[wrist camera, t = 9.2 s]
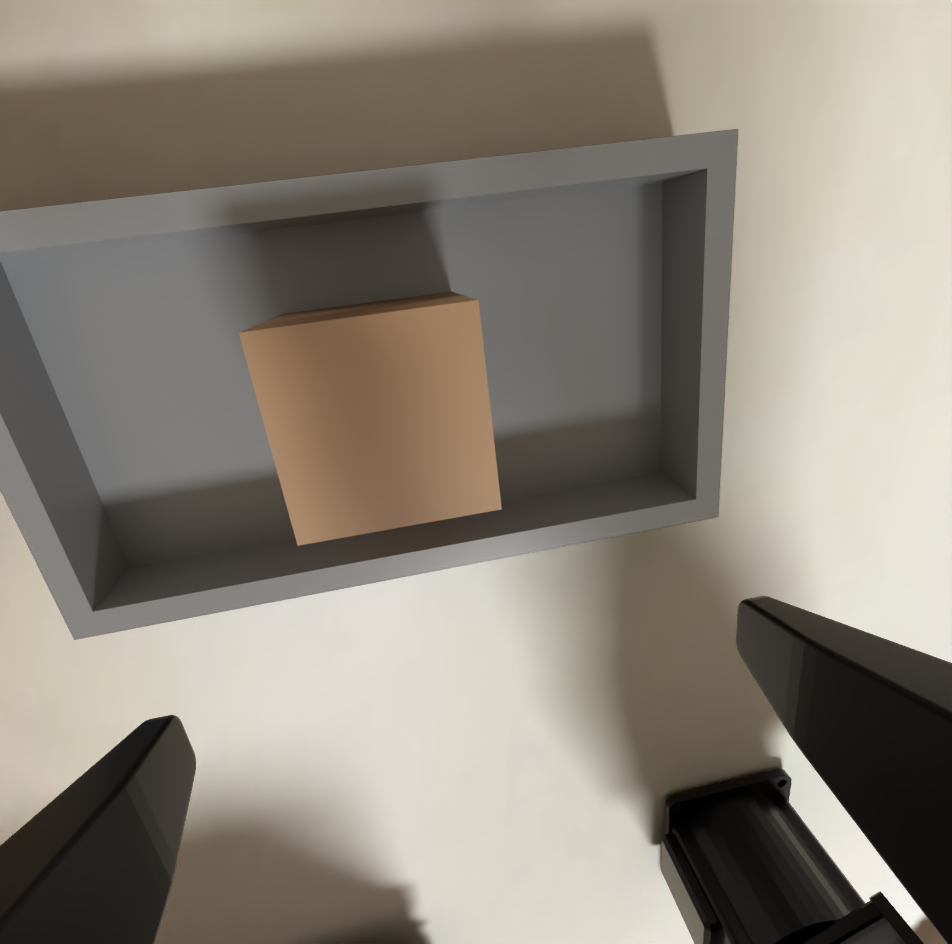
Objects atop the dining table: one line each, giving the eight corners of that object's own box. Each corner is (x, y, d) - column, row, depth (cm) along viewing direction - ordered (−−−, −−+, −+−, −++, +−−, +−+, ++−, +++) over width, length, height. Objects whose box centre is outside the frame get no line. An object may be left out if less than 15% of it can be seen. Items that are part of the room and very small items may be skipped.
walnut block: (451, 291, 16) (478, 300, 11) (471, 447, 18) (501, 509, 13) (282, 313, 16) (238, 332, 11) (320, 472, 17) (297, 545, 13)
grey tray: (678, 152, 16) (738, 129, 14) (672, 483, 20) (718, 517, 18) (-31, 234, 14) (-130, 226, 11) (121, 583, 18) (74, 639, 16)
